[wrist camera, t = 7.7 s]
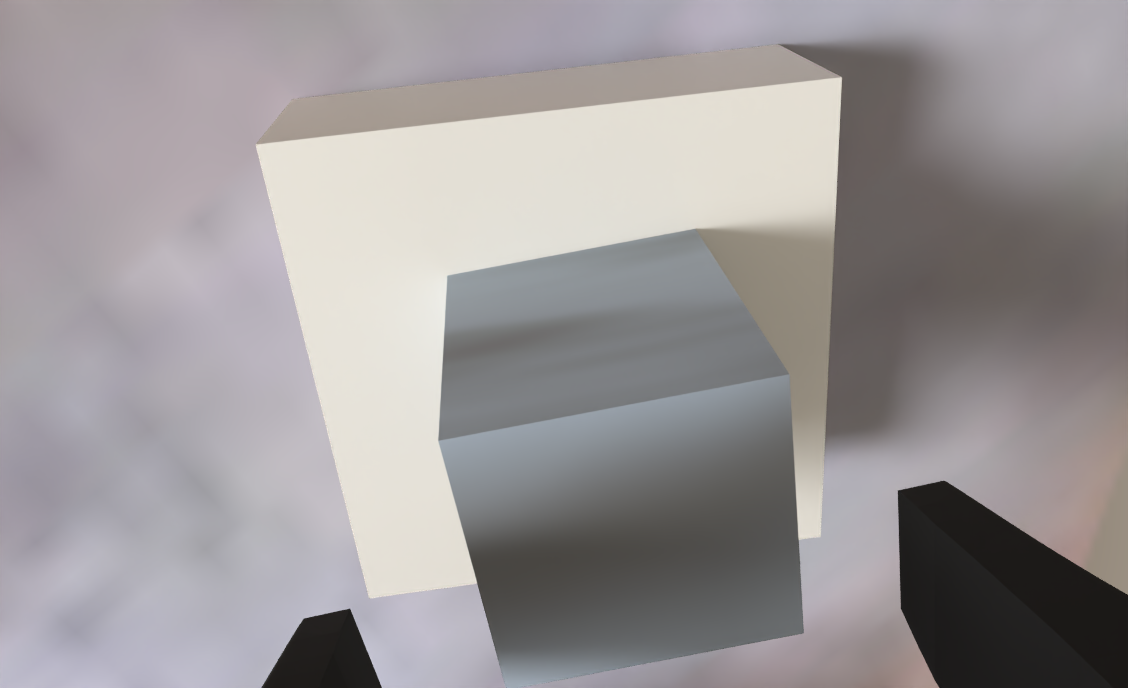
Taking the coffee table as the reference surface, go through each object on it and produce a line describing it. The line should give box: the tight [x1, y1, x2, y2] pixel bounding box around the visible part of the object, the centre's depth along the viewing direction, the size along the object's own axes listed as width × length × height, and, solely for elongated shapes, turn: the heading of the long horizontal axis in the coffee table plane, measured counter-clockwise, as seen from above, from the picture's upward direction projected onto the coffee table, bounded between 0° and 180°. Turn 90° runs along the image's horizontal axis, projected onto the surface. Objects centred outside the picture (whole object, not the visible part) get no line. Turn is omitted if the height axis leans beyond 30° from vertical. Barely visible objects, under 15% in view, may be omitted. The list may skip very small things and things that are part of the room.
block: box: [438, 229, 804, 688], centre depth 15 cm, size 5×5×6 cm
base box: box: [256, 44, 842, 598], centre depth 19 cm, size 10×10×4 cm
